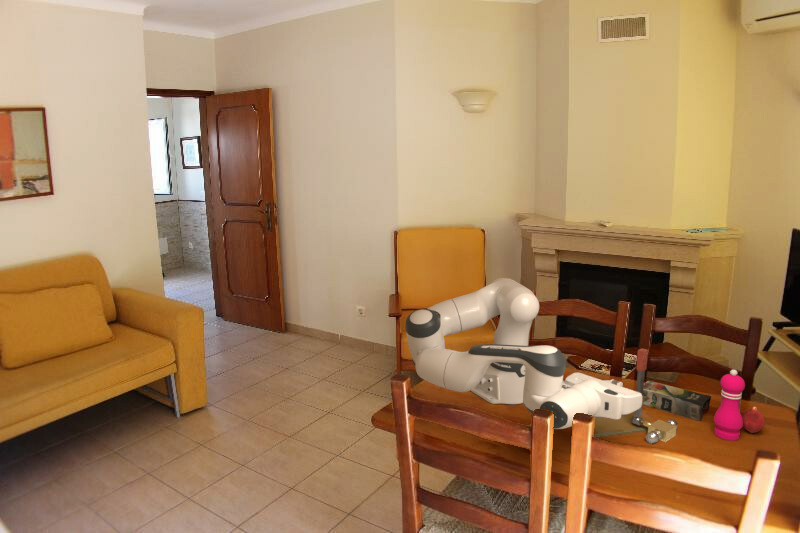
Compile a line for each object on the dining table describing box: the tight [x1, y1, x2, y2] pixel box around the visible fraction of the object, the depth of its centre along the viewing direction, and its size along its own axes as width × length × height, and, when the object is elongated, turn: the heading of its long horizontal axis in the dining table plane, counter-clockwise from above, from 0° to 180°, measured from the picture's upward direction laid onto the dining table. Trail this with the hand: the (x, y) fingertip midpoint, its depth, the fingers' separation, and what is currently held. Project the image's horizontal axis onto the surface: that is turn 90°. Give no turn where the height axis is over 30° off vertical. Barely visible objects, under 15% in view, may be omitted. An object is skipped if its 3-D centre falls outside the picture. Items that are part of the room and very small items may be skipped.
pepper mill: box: [713, 369, 746, 442], centre depth 161 cm, size 7×7×20 cm
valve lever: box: [631, 347, 649, 427], centre depth 167 cm, size 2×2×23 cm
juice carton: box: [642, 380, 712, 422], centre depth 181 cm, size 20×10×6 cm, turn 47°
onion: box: [741, 406, 766, 434], centre depth 164 cm, size 6×6×8 cm
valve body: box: [640, 418, 679, 444], centre depth 165 cm, size 9×14×3 cm, turn 129°
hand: (617, 383), depth 157 cm, fingers closed
